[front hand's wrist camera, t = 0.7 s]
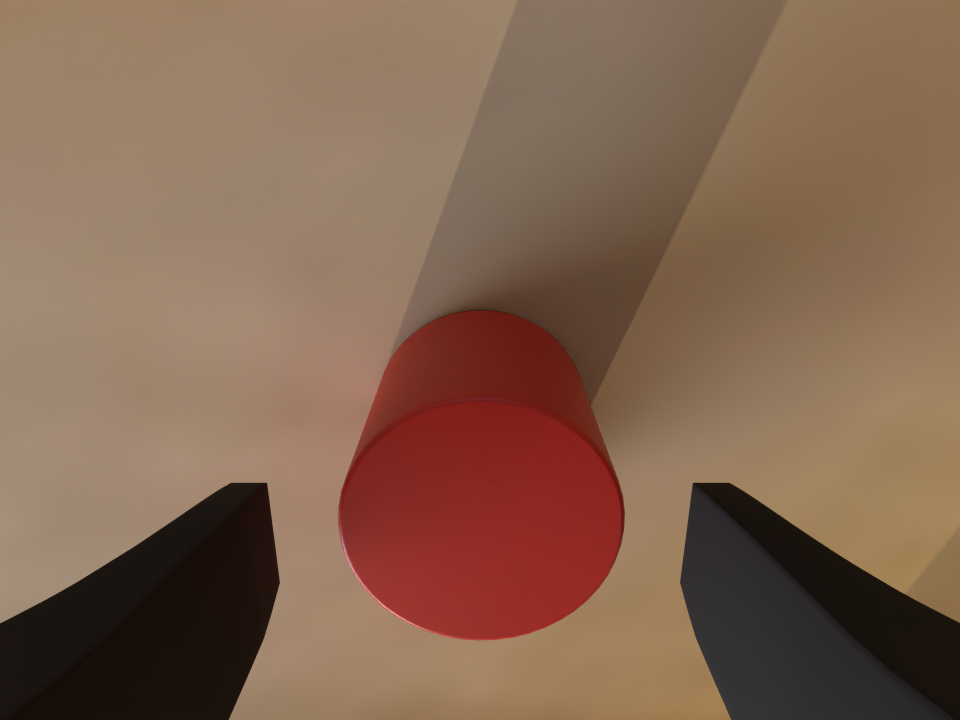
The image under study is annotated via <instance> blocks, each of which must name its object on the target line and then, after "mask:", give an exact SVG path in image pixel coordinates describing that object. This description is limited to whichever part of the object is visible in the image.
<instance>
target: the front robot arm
mask: <svg viewBox="0 0 960 720" xmlns="http://www.w3.org/2000/svg"><path fill="white" fill-rule="evenodd" d="M279 584H280V580H279V572H278V565H277V557H276V549H275V541H274V533H273V526H272V518H271V510H270V502H269V495H268V487H267V483H230V484H228V485H227V486H225V487H223V488H221V489H220V490H218V491H216V492H215V493H213V494H212V495H210V496H209V497H207V498H206V499H204V500H203V501H201V502H200V503H198V504H197V505H195V506H194V507H192V508H191V509H190V510H188V511H187V512H185V513H184V514H182V515H181V516H179V517H178V518H176V519H175V520H173V521H172V522H171V523H169V524H168V525H166V526H165V527H163V528H162V529H160V530H159V531H157V532H156V533H154V534H153V535H151V536H150V537H148V538H147V539H145V540H144V541H142V542H141V543H139V544H138V545H136V546H135V547H133V548H132V549H130V550H128V551H127V552H125V553H124V554H122V555H120V556H119V557H117V558H115V559H114V560H112V561H111V562H109V563H107V564H106V565H104V566H103V567H101V568H99V569H98V570H96V571H95V572H93V573H91V574H90V575H88V576H86V577H85V578H83V579H82V580H80V581H78V582H77V583H75V584H73V585H71V586H70V587H68V588H66V589H65V590H63V591H61V592H59V593H57V594H56V595H54V596H52V597H50V598H48V599H47V600H45V601H43V602H41V603H39V604H37V605H35V606H33V607H31V608H29V609H27V610H26V611H24V612H22V613H20V614H18V615H16V616H14V617H12V618H10V619H8V620H6V621H4V622H2V623H0V720H229V718H230V715H231V713H232V711H233V709H234V706H235V704H236V702H237V700H238V697H239V695H240V693H241V690H242V688H243V686H244V684H245V681H246V679H247V677H248V674H249V672H250V670H251V667H252V665H253V663H254V660H255V658H256V656H257V653H258V651H259V649H260V646H261V644H262V641H263V639H264V636H265V633H266V630H267V626H268V623H269V620H270V616H271V613H272V610H273V606H274V602H275V598H276V595H277V591H278V587H279ZM680 584H681V587H682V591H683V595H684V598H685V602H686V606H687V609H688V613H689V616H690V620H691V623H692V626H693V630H694V633H695V636H696V639H697V641H698V644H699V646H700V649H701V651H702V653H703V656H704V658H705V660H706V663H707V665H708V667H709V670H710V672H711V674H712V677H713V679H714V681H715V684H716V686H717V688H718V690H719V693H720V695H721V697H722V700H723V702H724V704H725V706H726V709H727V711H728V713H729V715H730V718H731V720H960V623H959V622H957V621H955V620H953V619H951V618H949V617H947V616H945V615H943V614H941V613H939V612H937V611H935V610H933V609H931V608H929V607H927V606H926V605H924V604H922V603H920V602H918V601H916V600H914V599H912V598H910V597H909V596H907V595H905V594H903V593H901V592H900V591H898V590H896V589H894V588H893V587H891V586H889V585H887V584H886V583H884V582H882V581H881V580H879V579H877V578H876V577H874V576H872V575H871V574H869V573H867V572H866V571H864V570H862V569H861V568H859V567H857V566H856V565H854V564H852V563H851V562H849V561H848V560H846V559H844V558H843V557H841V556H840V555H838V554H837V553H835V552H833V551H832V550H830V549H829V548H827V547H826V546H824V545H823V544H821V543H820V542H818V541H817V540H815V539H814V538H812V537H811V536H809V535H808V534H806V533H805V532H803V531H802V530H800V529H799V528H797V527H796V526H794V525H793V524H791V523H790V522H788V521H787V520H785V519H784V518H783V517H781V516H780V515H778V514H777V513H775V512H774V511H772V510H771V509H769V508H768V507H766V506H765V505H764V504H762V503H761V502H759V501H758V500H756V499H755V498H753V497H752V496H750V495H749V494H747V493H745V492H744V491H742V490H741V489H739V488H737V487H736V486H734V485H732V484H730V483H693V487H692V495H691V502H690V510H689V518H688V526H687V533H686V541H685V549H684V557H683V565H682V572H681V580H680Z"/></svg>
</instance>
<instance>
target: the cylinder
mask: <svg viewBox="0 0 960 720" xmlns="http://www.w3.org/2000/svg"><path fill="white" fill-rule="evenodd" d="M624 520H625V510H624V502H623V495H622V492H621V488H620V484H619V481H618V478H617V475H616V473H615V470H614V467H613V465H612V462H611V459H610V457H609V454H608V451H607V449H606V446H605V443H604V441H603V438H602V435H601V432H600V430H599V427H598V424H597V422H596V419H595V416H594V414H593V411H592V408H591V406H590V403H589V400H588V398H587V395H586V392H585V390H584V387H583V384H582V382H581V379H580V376H579V374H578V371H577V369H576V367H575V365H574V363H573V361H572V359H571V358H570V356H569V355H568V353H567V352H566V351H565V349H564V348H563V347H562V346H561V345H560V343H559V342H558V341H557V340H556V339H554V338H553V337H552V336H551V335H550V334H549V333H548V332H546V331H545V330H543V329H542V328H540V327H539V326H537V325H535V324H533V323H531V322H529V321H528V320H526V319H523V318H520V317H517V316H514V315H512V314H507V313H502V312H498V311H486V310H479V311H466V312H460V313H455V314H451V315H448V316H445V317H442V318H439V319H437V320H435V321H433V322H430V323H429V324H427V325H425V326H424V327H422V328H420V329H419V330H417V331H416V332H415V333H414V334H412V335H411V336H410V337H409V338H408V339H407V340H406V341H405V342H404V343H403V344H402V345H401V346H400V347H399V348H398V349H397V351H396V352H395V354H394V355H393V357H392V358H391V360H390V361H389V363H388V365H387V367H386V369H385V372H384V374H383V377H382V380H381V383H380V385H379V388H378V391H377V394H376V396H375V399H374V402H373V405H372V407H371V410H370V413H369V415H368V418H367V421H366V424H365V426H364V429H363V432H362V435H361V437H360V440H359V443H358V446H357V448H356V451H355V454H354V457H353V459H352V462H351V465H350V468H349V470H348V473H347V476H346V479H345V482H344V485H343V488H342V491H341V496H340V502H339V514H338V524H339V532H340V539H341V542H342V546H343V549H344V552H345V555H346V558H347V560H348V562H349V564H350V566H351V569H352V571H353V572H354V574H355V575H356V577H357V578H358V580H359V582H360V583H361V584H362V586H363V587H364V588H365V589H366V590H367V592H368V593H369V594H370V595H371V596H372V597H373V598H374V599H375V600H376V601H377V602H378V603H380V604H381V605H382V606H383V607H384V608H385V609H387V610H388V611H390V612H391V613H392V614H394V615H395V616H397V617H398V618H400V619H402V620H404V621H406V622H408V623H409V624H411V625H413V626H416V627H418V628H421V629H423V630H426V631H428V632H432V633H435V634H439V635H442V636H447V637H452V638H458V639H468V640H497V639H504V638H511V637H516V636H520V635H524V634H528V633H531V632H534V631H537V630H540V629H542V628H545V627H547V626H549V625H551V624H553V623H555V622H557V621H559V620H561V619H563V618H564V617H566V616H567V615H569V614H570V613H572V612H574V611H575V610H576V609H577V608H579V607H580V606H581V605H582V604H583V603H585V602H586V601H587V600H588V599H589V598H590V597H591V596H592V595H593V594H594V593H595V591H596V590H597V589H598V588H599V587H600V585H601V584H602V583H603V581H604V580H605V578H606V577H607V576H608V574H609V572H610V570H611V568H612V566H613V564H614V562H615V560H616V557H617V555H618V552H619V549H620V546H621V542H622V537H623V532H624Z"/></svg>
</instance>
